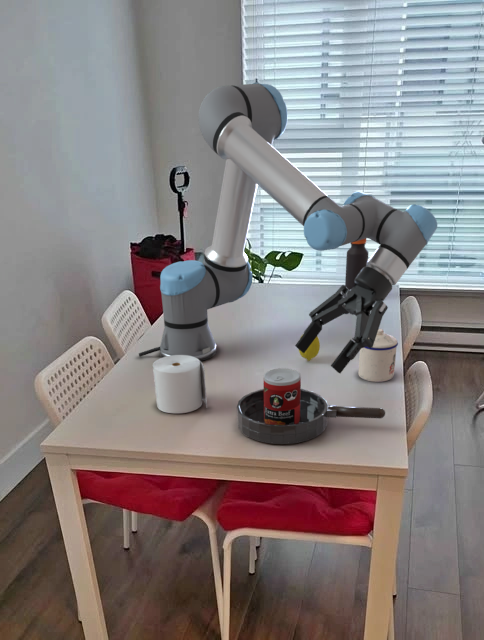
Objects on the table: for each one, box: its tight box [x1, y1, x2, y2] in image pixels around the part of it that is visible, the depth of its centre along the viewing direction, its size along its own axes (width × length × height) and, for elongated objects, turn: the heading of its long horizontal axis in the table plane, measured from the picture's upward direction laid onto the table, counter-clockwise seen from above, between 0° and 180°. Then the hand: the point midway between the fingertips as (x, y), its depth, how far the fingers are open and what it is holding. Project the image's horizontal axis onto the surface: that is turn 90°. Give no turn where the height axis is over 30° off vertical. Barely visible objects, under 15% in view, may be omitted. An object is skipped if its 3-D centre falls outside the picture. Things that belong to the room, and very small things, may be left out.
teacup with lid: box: [357, 328, 399, 383], centre depth 164 cm, size 12×9×12 cm
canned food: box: [262, 367, 302, 425], centre depth 142 cm, size 8×8×11 cm
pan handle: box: [327, 404, 386, 420], centre depth 141 cm, size 12×3×2 cm, turn 81°
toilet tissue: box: [152, 355, 208, 414], centre depth 153 cm, size 11×12×10 cm
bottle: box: [344, 238, 369, 290], centre depth 215 cm, size 7×7×20 cm
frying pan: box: [236, 388, 329, 445], centre depth 144 cm, size 19×19×4 cm
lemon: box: [298, 334, 321, 362], centre depth 174 cm, size 6×6×8 cm
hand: (316, 359), depth 141 cm, fingers open, 13 cm apart
